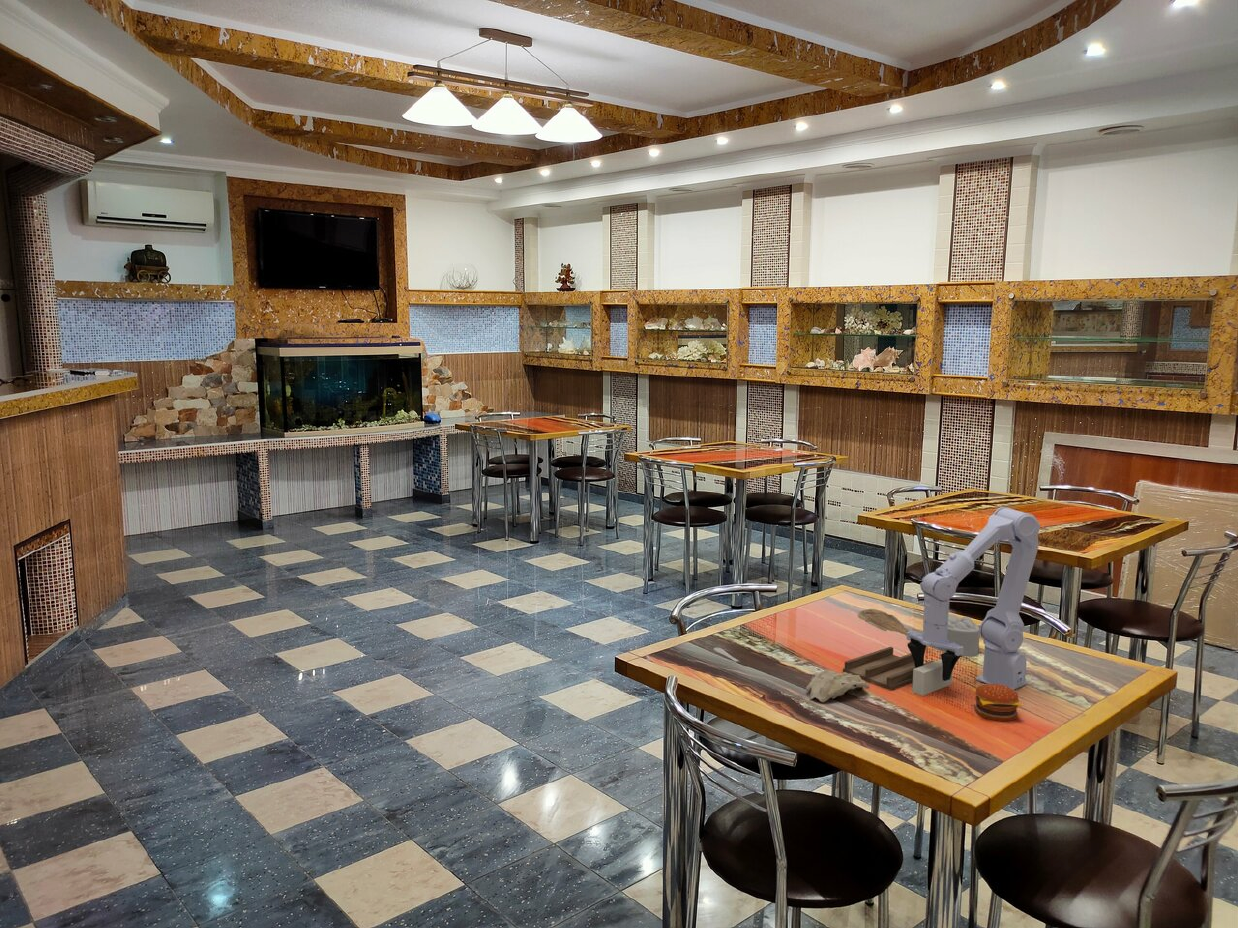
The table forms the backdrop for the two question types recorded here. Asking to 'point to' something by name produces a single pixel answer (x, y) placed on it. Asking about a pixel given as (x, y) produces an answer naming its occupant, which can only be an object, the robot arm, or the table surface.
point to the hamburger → (996, 702)
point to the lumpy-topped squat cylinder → (963, 634)
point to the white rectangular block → (929, 678)
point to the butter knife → (725, 653)
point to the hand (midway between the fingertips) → (932, 674)
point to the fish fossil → (882, 620)
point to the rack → (883, 668)
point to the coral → (833, 684)
